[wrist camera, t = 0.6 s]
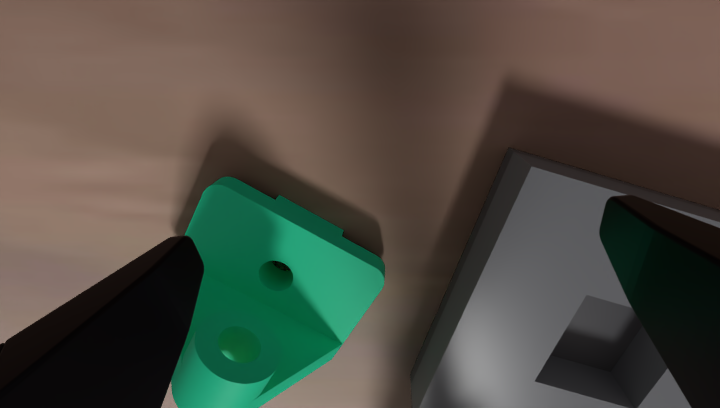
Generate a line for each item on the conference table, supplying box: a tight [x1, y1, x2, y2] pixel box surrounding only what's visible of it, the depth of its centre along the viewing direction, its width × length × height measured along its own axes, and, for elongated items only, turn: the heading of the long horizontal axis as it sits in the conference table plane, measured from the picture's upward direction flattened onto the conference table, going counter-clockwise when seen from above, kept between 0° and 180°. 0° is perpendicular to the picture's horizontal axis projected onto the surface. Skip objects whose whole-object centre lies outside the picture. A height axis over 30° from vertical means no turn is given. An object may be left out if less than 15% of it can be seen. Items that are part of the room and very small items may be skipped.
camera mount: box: [171, 177, 385, 408], centre depth 22 cm, size 12×8×10 cm, turn 60°
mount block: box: [410, 148, 720, 408], centre depth 24 cm, size 18×18×4 cm
